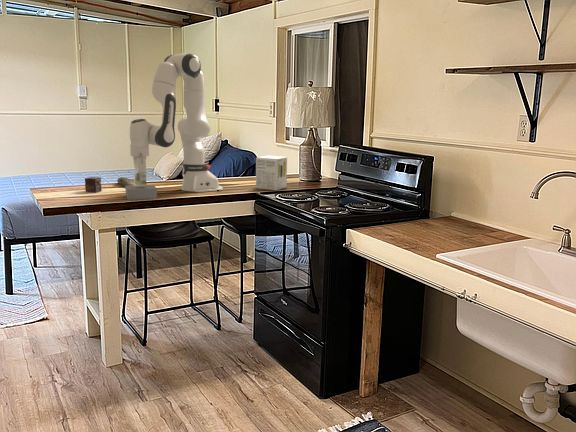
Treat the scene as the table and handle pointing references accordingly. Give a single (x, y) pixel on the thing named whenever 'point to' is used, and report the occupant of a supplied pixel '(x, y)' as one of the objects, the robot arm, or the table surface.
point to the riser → (141, 192)
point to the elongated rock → (126, 181)
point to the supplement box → (271, 172)
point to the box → (93, 184)
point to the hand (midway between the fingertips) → (140, 180)
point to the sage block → (139, 180)
